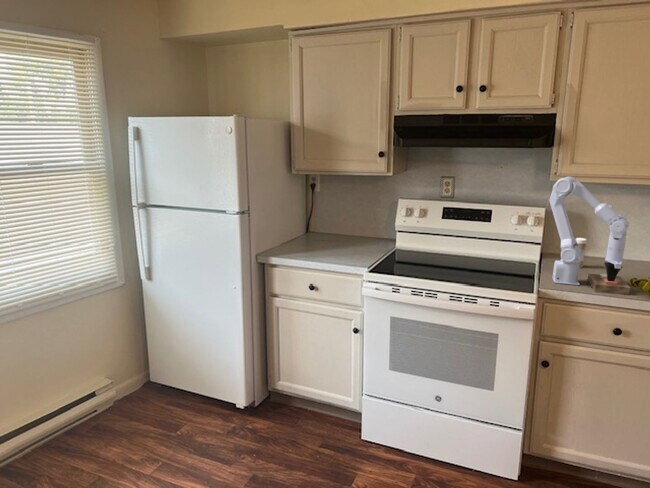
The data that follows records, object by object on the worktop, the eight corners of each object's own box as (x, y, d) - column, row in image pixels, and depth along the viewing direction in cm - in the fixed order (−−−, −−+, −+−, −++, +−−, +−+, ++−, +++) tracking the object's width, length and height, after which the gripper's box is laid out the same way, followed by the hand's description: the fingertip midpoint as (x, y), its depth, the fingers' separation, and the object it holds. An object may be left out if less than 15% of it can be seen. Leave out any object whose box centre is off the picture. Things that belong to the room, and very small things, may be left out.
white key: (601, 282, 200) (601, 276, 200) (598, 279, 204) (599, 273, 203) (611, 283, 199) (612, 277, 199) (609, 280, 203) (610, 274, 202)
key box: (594, 291, 193) (596, 284, 192) (587, 280, 206) (588, 273, 206) (629, 295, 189) (630, 287, 188) (619, 283, 203) (620, 276, 202)
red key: (605, 287, 193) (606, 281, 193) (602, 284, 197) (603, 278, 196) (616, 288, 192) (617, 282, 192) (614, 285, 196) (614, 279, 195)
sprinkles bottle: (573, 264, 229) (577, 237, 226) (584, 266, 226) (588, 238, 223) (570, 266, 226) (574, 238, 223) (581, 268, 223) (585, 240, 220)
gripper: (632, 253, 183) (626, 287, 186) (622, 244, 196) (617, 276, 200) (611, 252, 185) (606, 285, 188) (602, 243, 198) (598, 274, 202)
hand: (610, 280), depth 194 cm, fingers closed, pressing on red key
